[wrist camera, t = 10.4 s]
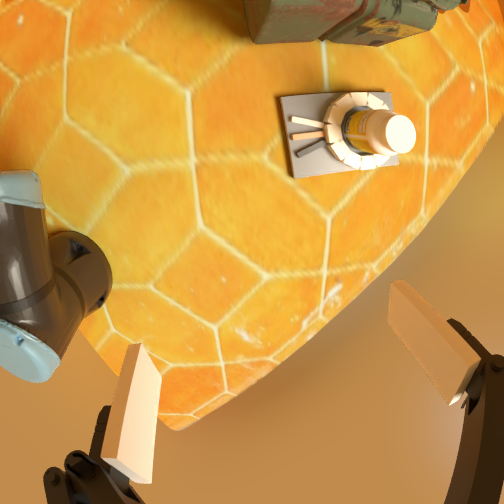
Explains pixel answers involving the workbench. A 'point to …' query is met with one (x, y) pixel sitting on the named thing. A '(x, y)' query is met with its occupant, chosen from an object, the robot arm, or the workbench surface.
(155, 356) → the workbench surface
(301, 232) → the workbench surface
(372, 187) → the workbench surface
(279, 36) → the fuel can
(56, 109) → the workbench surface
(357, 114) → the pill bottle
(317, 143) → the junction plate
